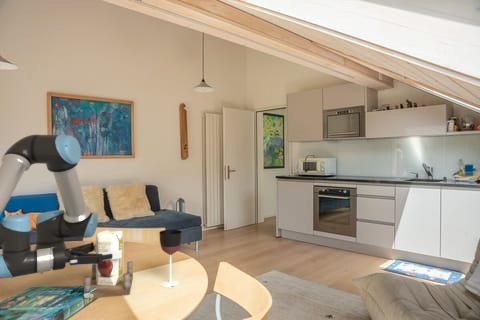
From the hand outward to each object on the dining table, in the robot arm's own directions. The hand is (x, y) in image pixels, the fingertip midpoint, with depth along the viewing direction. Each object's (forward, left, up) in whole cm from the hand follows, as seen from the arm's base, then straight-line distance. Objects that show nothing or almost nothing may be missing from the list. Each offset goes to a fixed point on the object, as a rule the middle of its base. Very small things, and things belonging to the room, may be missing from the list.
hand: (116, 249), depth 122 cm
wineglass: (+2, +20, -14) cm, 25 cm away
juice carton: (+1, -2, -12) cm, 13 cm away
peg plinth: (+1, -2, -14) cm, 14 cm away
